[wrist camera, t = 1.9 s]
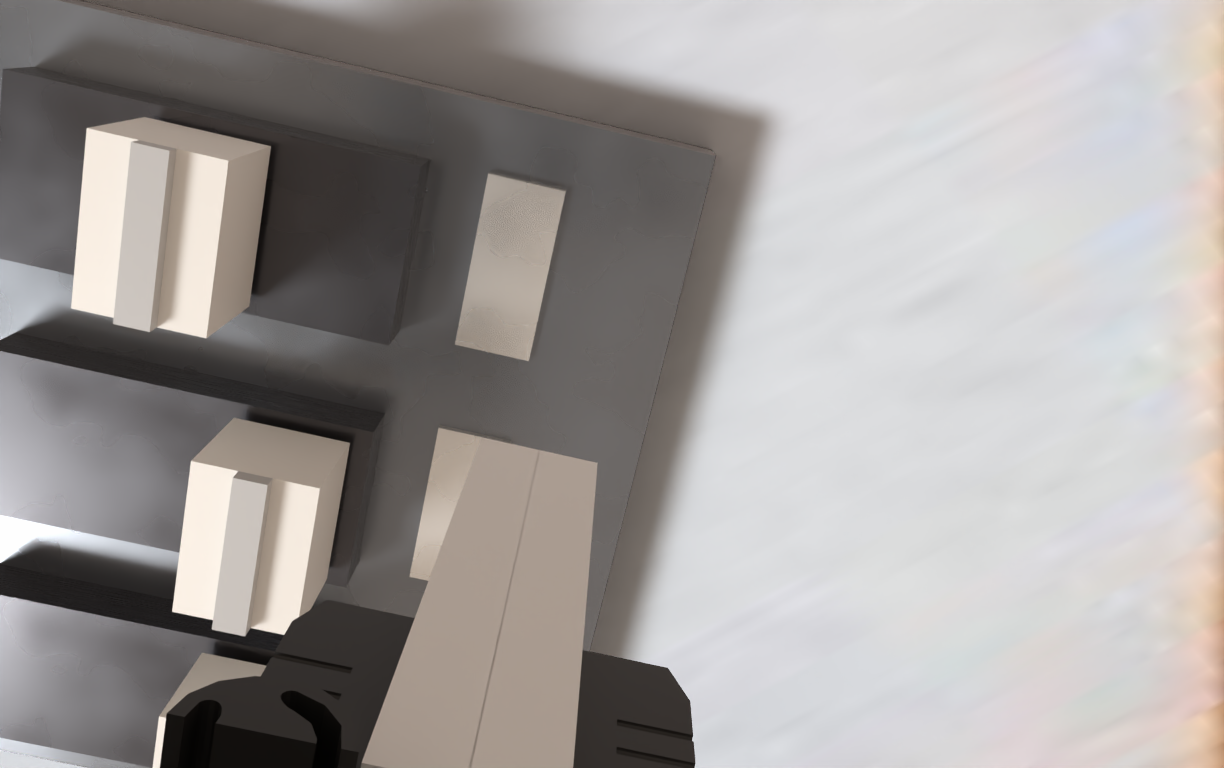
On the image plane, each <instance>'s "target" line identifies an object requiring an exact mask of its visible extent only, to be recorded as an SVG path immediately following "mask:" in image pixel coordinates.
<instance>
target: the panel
mask: <svg viewBox="0 0 1224 768" xmlns="http://www.w3.org/2000/svg"><path fill="white" fill-rule="evenodd" d="M142 117H147V118H151V119H156V120H160V121H164V122H168V123H173V124H177V125H181V126H186V127H190V128H194V129H199V130H203V131H207V132H212V133H216V134H220V135H225V136H229V137H233V138H238V139H242V140H246V141H251V142H255V143H259V144H263V145H268V146H271V150H270V157H269V165H268V172H267V180H266V187H265V194H264V202H263V209H262V216H261V224H260V231H259V238H258V246H257V253H256V260H255V268H254V275H253V282H252V290H251V297H250V304H249V307H248V308H246V309H245V310H244V311H242V312H241V313H240V314H238V315H237V316H236V317H234V318H233V319H232V320H230V321H229V322H228V323H226V324H225V325H224V326H222V327H221V328H220V329H218V330H217V331H216V332H214V333H213V334H211V335H210V336H209V337H207V338H202V337H198V336H193V335H189V334H184V333H180V332H175V331H171V330H166V329H162V328H155V329H154V330H152V331H151V332H147V331H142V330H138V329H133V328H129V327H124V326H120V325H115V324H113V319H114V318H112V317H107V316H103V315H98V314H94V313H89V312H85V311H80V310H76V309H71V303H72V292H73V280H74V269H75V257H76V245H77V234H78V222H79V211H80V199H81V188H82V176H83V165H84V153H85V141H86V130H87V128H89V127H95V126H100V125H105V124H110V123H116V122H121V121H126V120H131V119H137V118H142ZM715 157H716V156H715V154H714V153H713V151H712V150H710V149H706V148H702V147H698V146H693V145H689V144H685V143H681V142H677V141H672V140H668V139H664V138H660V137H655V136H651V135H647V134H643V133H639V132H634V131H630V130H626V129H622V128H617V127H613V126H609V125H605V124H601V123H596V122H592V121H588V120H584V119H579V118H575V117H571V116H567V115H562V114H558V113H554V112H550V111H546V110H541V109H537V108H533V107H529V106H524V105H520V104H516V103H512V102H508V101H503V100H499V99H495V98H491V97H486V96H482V95H478V94H474V93H470V92H465V91H461V90H457V89H453V88H448V87H444V86H440V85H436V84H432V83H427V82H423V81H419V80H415V79H410V78H406V77H402V76H398V75H394V74H389V73H385V72H381V71H377V70H372V69H368V68H364V67H360V66H356V65H351V64H347V63H343V62H339V61H334V60H330V59H326V58H322V57H318V56H313V55H309V54H305V53H301V52H296V51H292V50H288V49H284V48H280V47H275V46H271V45H267V44H263V43H258V42H254V41H250V40H246V39H242V38H237V37H233V36H229V35H225V34H220V33H216V32H212V31H208V30H204V29H199V28H195V27H191V26H187V25H182V24H178V23H174V22H170V21H165V20H161V19H157V18H153V17H149V16H144V15H140V14H136V13H132V12H127V11H123V10H119V9H115V8H111V7H106V6H102V5H98V4H94V3H89V2H85V1H81V0H0V750H1V751H6V752H11V753H16V754H21V755H26V756H31V757H36V758H41V759H47V760H52V761H57V762H62V763H67V764H72V765H77V766H82V767H87V768H153V760H154V752H155V744H156V736H157V728H158V720H159V716H160V714H161V713H162V711H163V710H164V708H165V707H166V705H167V704H168V702H169V701H170V699H171V698H172V696H173V695H174V693H175V692H176V691H177V689H178V688H179V686H180V685H181V683H182V682H183V680H184V679H185V677H186V676H187V674H188V673H189V671H190V670H191V668H192V667H193V665H194V664H195V662H196V661H197V659H198V658H199V656H200V655H201V653H207V654H212V655H217V656H221V657H226V658H231V659H236V660H241V661H246V662H251V663H256V664H260V665H265V666H267V664H268V662H269V661H270V659H271V657H272V658H273V657H274V653H275V650H276V648H277V647H278V645H279V643H280V642H281V640H282V638H283V636H284V635H282V634H277V633H273V632H268V631H263V630H258V629H253V628H250V630H249V631H248V633H247V634H246V636H240V635H235V634H231V633H226V632H221V631H216V630H212V624H213V620H210V619H205V618H200V617H195V616H190V615H185V614H181V613H176V612H172V608H173V600H174V592H175V585H176V577H177V569H178V561H179V553H180V545H181V537H182V529H183V521H184V513H185V505H186V497H187V489H188V481H189V473H190V465H191V460H192V459H193V458H194V457H195V456H196V455H197V454H198V453H199V452H200V451H201V450H202V449H203V448H204V447H205V446H206V445H207V444H208V443H209V442H210V441H211V440H212V439H213V438H214V437H215V436H216V435H217V434H218V433H219V432H220V431H221V430H222V429H223V428H224V427H225V426H226V425H227V424H228V423H229V422H230V421H231V420H232V419H233V418H238V419H242V420H247V421H252V422H256V423H261V424H265V425H270V426H275V427H279V428H284V429H288V430H293V431H298V432H302V433H307V434H311V435H316V436H321V437H325V438H330V439H334V440H339V441H344V442H348V443H350V446H349V452H348V458H347V464H346V470H345V476H344V482H343V487H342V493H341V499H340V505H339V511H338V517H337V523H336V528H335V534H334V540H333V546H332V552H331V558H330V564H329V569H328V575H327V580H326V582H325V584H324V585H323V587H322V589H321V591H320V593H319V595H318V597H317V598H316V600H315V602H314V604H313V606H312V608H311V609H313V608H314V607H316V606H318V605H319V604H321V603H322V602H324V601H326V600H332V601H337V602H341V603H346V604H351V605H355V606H360V607H365V608H370V609H374V610H379V611H384V612H388V613H393V614H398V615H403V616H407V617H412V618H415V616H416V613H417V611H418V608H419V605H420V603H421V600H422V597H423V594H424V592H425V589H426V586H427V584H428V581H429V578H430V575H431V573H432V570H433V567H434V565H435V562H436V559H437V556H438V554H439V551H440V548H441V546H442V543H443V540H444V537H445V535H446V532H447V529H448V526H449V524H450V521H451V518H452V516H453V513H454V510H455V507H456V505H457V502H458V499H459V497H460V494H461V491H462V488H463V486H464V483H465V480H466V478H467V475H468V472H469V469H470V467H471V464H472V461H473V459H474V456H475V453H476V450H477V448H478V445H479V442H480V439H481V437H483V438H487V439H492V440H496V441H501V442H505V443H510V444H514V445H519V446H523V447H528V448H532V449H537V450H541V451H546V452H550V453H555V454H560V455H564V456H569V457H573V458H578V459H582V460H587V461H591V462H596V463H598V464H597V477H596V489H595V501H594V514H593V526H592V539H591V551H590V564H589V576H588V589H587V601H586V613H585V626H584V638H583V650H585V651H590V647H591V643H592V639H593V636H594V632H595V628H596V624H597V620H598V616H599V612H600V608H601V604H602V600H603V596H604V592H605V588H606V585H607V581H608V577H609V573H610V569H611V565H612V561H613V557H614V553H615V549H616V545H617V541H618V538H619V534H620V530H621V526H622V522H623V518H624V514H625V510H626V506H627V502H628V498H629V494H630V491H631V487H632V483H633V479H634V475H635V471H636V467H637V463H638V459H639V455H640V451H641V447H642V444H643V440H644V436H645V432H646V428H647V424H648V420H649V416H650V412H651V408H652V404H653V400H654V396H655V393H656V389H657V385H658V381H659V377H660V373H661V369H662V365H663V361H664V357H665V353H666V349H667V346H668V342H669V338H670V334H671V330H672V326H673V322H674V318H675V314H676V310H677V306H678V302H679V299H680V295H681V291H682V287H683V283H684V279H685V275H686V271H687V267H688V263H689V259H690V255H691V252H692V248H693V244H694V240H695V236H696V232H697V228H698V224H699V220H700V216H701V212H702V208H703V204H704V201H705V197H706V193H707V189H708V185H709V181H710V177H711V173H712V169H713V165H714V161H715Z"/></svg>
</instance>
